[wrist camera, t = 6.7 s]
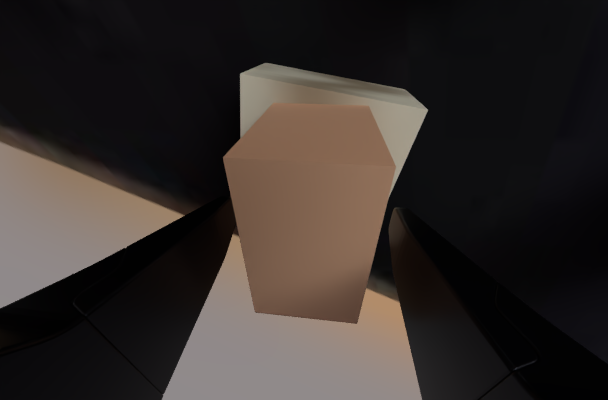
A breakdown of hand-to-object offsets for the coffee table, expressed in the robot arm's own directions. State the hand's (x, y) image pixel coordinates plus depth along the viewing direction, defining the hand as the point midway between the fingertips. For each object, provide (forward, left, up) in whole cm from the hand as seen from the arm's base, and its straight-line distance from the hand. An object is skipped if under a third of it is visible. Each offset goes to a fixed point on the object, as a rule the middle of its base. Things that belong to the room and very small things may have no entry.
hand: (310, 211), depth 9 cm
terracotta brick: (0, 0, -3) cm, 3 cm away
